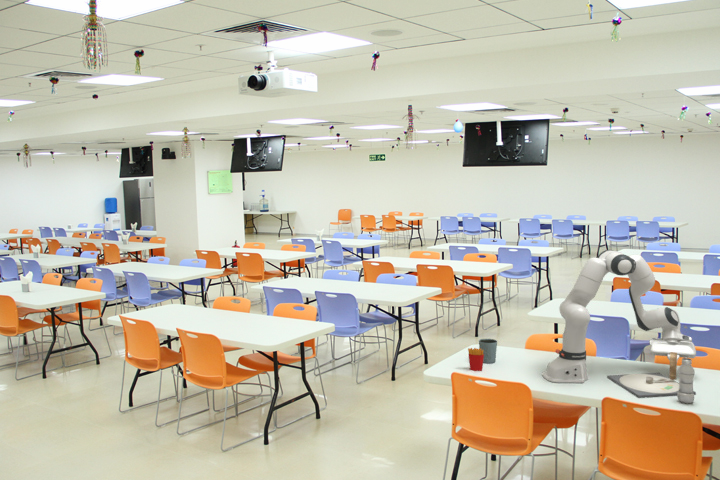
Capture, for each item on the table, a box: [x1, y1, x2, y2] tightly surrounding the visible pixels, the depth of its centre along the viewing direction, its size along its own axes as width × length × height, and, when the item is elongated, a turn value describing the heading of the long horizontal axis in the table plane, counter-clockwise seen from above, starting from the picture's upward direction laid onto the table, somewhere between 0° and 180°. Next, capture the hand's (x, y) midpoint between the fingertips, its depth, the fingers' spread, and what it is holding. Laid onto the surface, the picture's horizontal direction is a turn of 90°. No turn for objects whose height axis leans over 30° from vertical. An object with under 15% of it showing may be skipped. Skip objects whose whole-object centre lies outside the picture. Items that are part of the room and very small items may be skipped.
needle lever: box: [646, 352, 678, 383], centre depth 278 cm, size 15×3×14 cm, turn 95°
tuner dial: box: [606, 372, 697, 399], centre depth 278 cm, size 28×28×2 cm
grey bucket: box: [478, 338, 498, 365], centre depth 322 cm, size 10×10×12 cm
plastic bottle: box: [676, 357, 695, 404], centre depth 256 cm, size 6×7×20 cm
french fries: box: [467, 347, 484, 372], centre depth 308 cm, size 8×4×12 cm, turn 69°
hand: (673, 363), depth 283 cm, fingers closed
